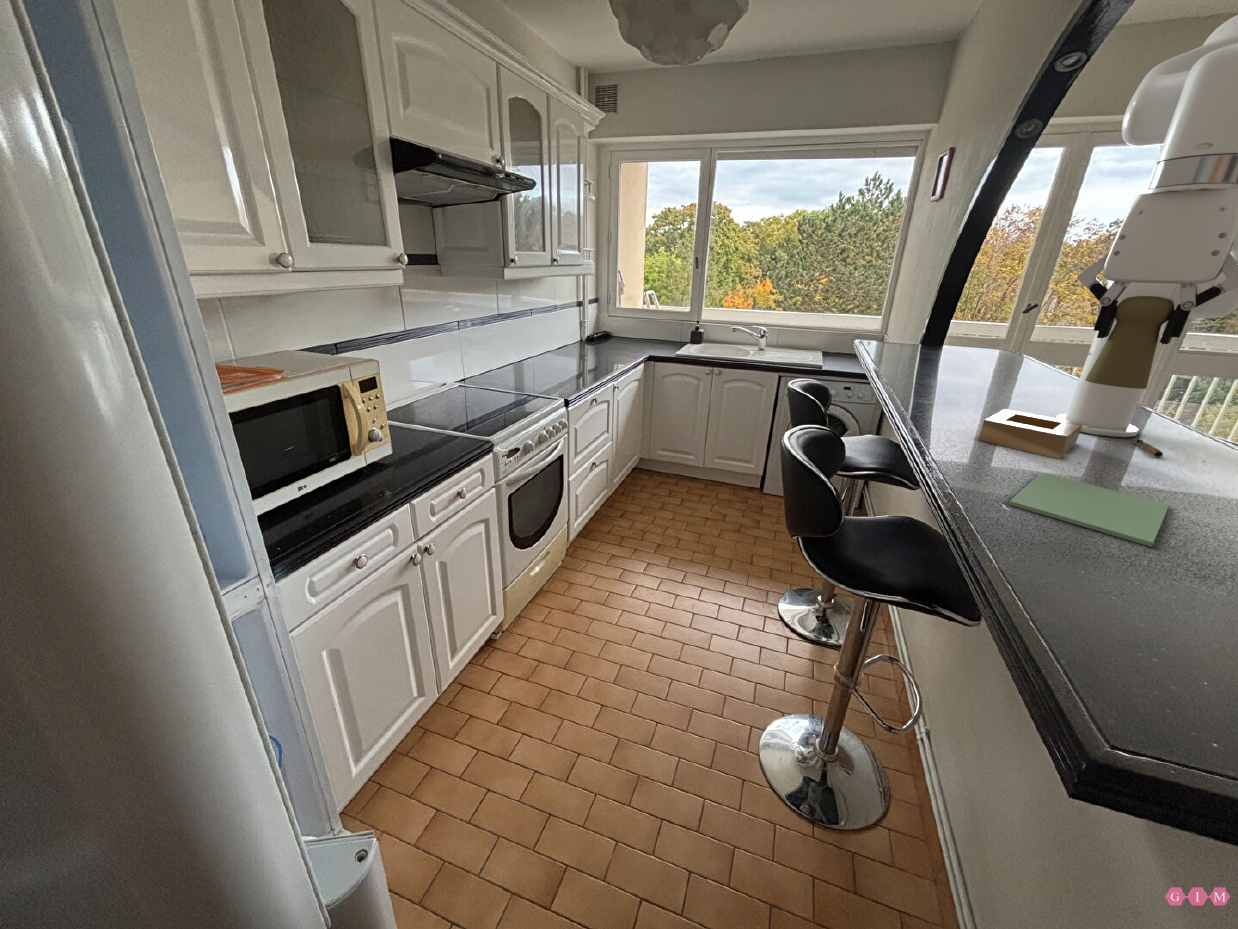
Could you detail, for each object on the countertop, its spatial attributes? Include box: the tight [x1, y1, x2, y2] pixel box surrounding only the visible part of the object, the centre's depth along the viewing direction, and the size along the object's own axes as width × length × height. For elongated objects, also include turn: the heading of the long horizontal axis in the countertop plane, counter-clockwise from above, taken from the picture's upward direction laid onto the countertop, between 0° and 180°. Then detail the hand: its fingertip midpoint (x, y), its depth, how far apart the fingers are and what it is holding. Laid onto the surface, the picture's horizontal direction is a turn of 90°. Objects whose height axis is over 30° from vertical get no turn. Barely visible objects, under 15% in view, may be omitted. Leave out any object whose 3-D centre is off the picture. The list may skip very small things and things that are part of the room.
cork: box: [1085, 296, 1174, 390], centre depth 65 cm, size 6×6×11 cm
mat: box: [1008, 472, 1170, 548], centre depth 68 cm, size 16×14×1 cm
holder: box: [977, 408, 1083, 460], centre depth 92 cm, size 12×12×4 cm
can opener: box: [1135, 438, 1164, 458], centre depth 90 cm, size 9×2×1 cm, turn 147°
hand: (1132, 338), depth 65 cm, fingers closed on cork, 5 cm apart
